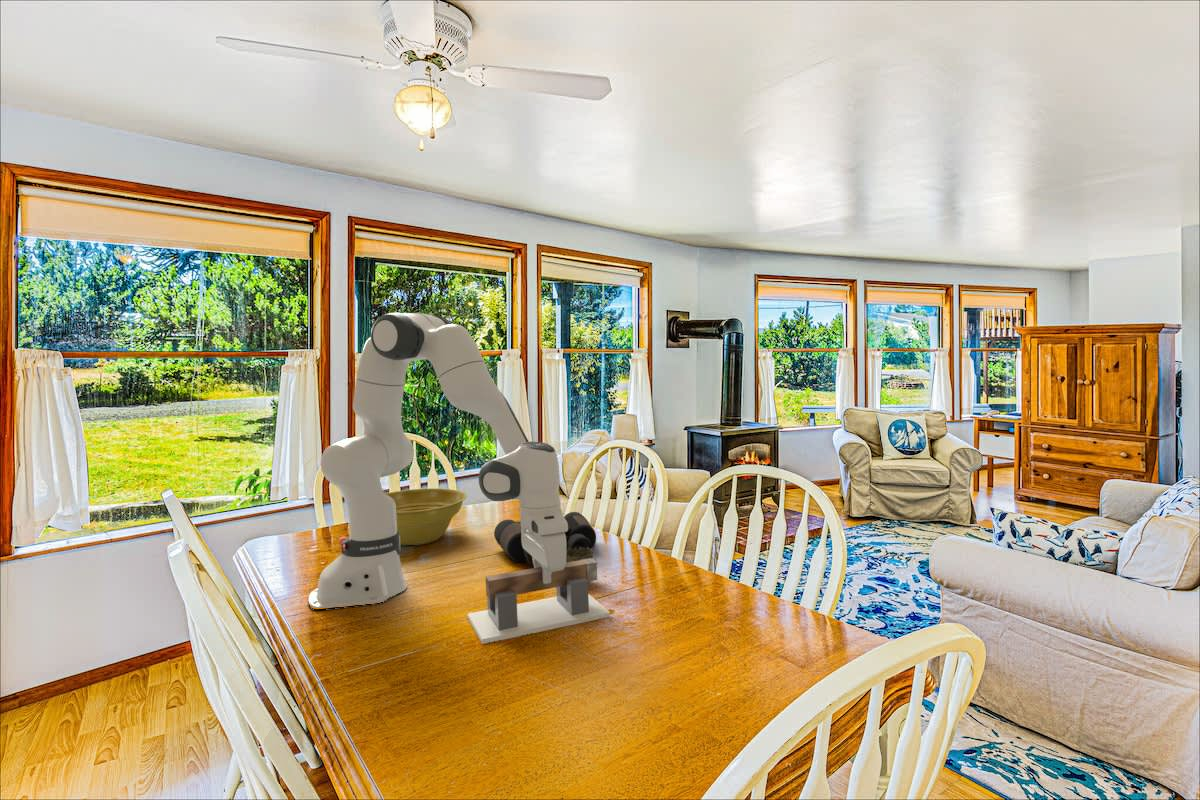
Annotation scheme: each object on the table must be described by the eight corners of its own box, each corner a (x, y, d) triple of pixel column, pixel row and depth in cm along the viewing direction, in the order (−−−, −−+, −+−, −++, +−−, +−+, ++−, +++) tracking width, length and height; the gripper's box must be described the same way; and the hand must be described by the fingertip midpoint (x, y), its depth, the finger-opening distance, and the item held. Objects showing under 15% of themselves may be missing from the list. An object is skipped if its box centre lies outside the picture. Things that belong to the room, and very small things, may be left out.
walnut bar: (489, 600, 127) (489, 581, 126) (486, 594, 130) (485, 576, 129) (597, 579, 136) (596, 562, 136) (591, 575, 140) (590, 558, 139)
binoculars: (584, 537, 192) (584, 506, 191) (608, 561, 173) (608, 527, 172) (494, 549, 182) (493, 517, 181) (508, 576, 163) (507, 540, 162)
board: (482, 644, 121) (480, 604, 120) (467, 618, 134) (466, 582, 133) (610, 616, 132) (609, 580, 132) (585, 595, 145) (584, 562, 145)
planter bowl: (454, 554, 180) (452, 509, 179) (346, 556, 180) (343, 512, 179) (477, 525, 212) (476, 487, 211) (385, 527, 212) (383, 489, 211)
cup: (590, 587, 150) (589, 555, 149) (561, 586, 151) (560, 554, 151) (596, 577, 157) (595, 546, 156) (568, 575, 158) (567, 545, 158)
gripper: (513, 508, 140) (515, 567, 141) (541, 529, 122) (544, 597, 123) (539, 505, 143) (541, 563, 144) (571, 525, 124) (573, 591, 125)
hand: (543, 579), depth 133 cm, fingers closed on walnut bar, 3 cm apart
